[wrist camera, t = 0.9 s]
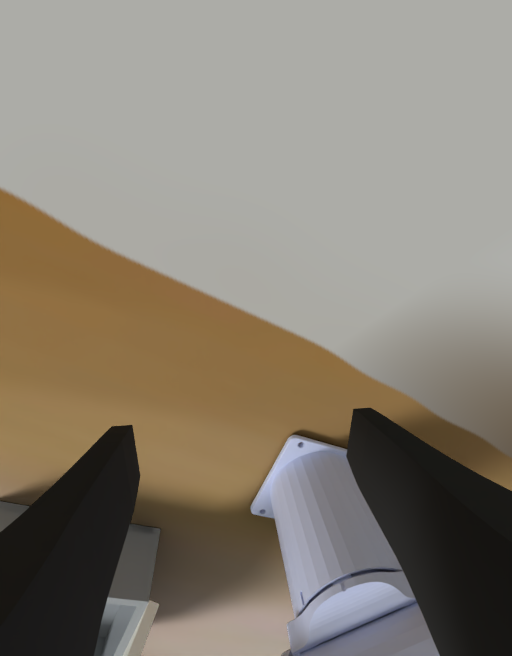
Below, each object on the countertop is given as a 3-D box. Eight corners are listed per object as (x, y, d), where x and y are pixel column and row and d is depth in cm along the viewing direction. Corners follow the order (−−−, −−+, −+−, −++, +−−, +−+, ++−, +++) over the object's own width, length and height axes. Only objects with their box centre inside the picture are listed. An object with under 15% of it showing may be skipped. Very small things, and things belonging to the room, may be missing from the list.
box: (160, 528, 25) (148, 601, 20) (112, 633, 29) (93, 715, 24) (-7, 500, 22) (-67, 578, 17) (-36, 621, 25) (-91, 712, 21)
